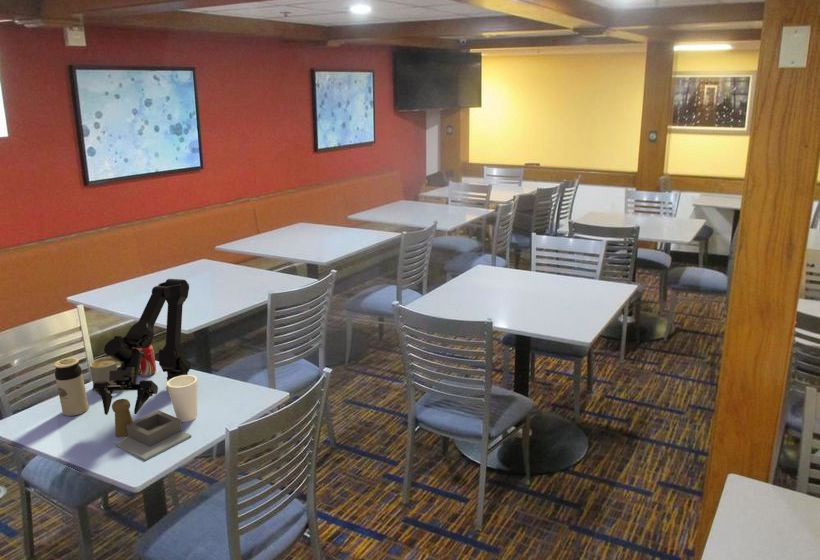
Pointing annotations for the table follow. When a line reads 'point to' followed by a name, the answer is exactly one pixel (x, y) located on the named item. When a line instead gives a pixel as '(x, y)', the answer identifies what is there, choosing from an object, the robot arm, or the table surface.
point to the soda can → (147, 362)
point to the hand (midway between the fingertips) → (120, 414)
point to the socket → (152, 435)
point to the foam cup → (184, 396)
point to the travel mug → (71, 386)
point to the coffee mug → (103, 369)
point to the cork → (121, 417)
